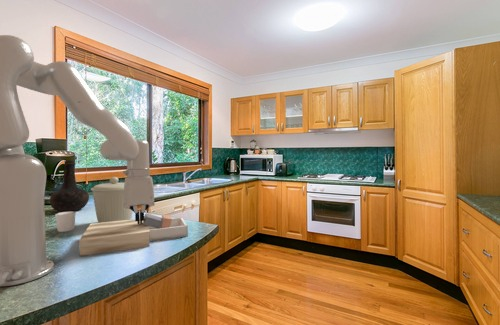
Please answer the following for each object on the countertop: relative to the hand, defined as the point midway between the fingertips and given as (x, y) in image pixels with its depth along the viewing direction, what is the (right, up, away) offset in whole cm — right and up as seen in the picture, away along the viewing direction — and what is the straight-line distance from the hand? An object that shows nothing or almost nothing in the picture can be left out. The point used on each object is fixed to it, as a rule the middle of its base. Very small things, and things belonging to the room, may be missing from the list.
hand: (139, 222), depth 94 cm
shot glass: (-36, -6, +11) cm, 38 cm away
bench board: (-6, -6, -3) cm, 9 cm away
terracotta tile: (+7, -1, +3) cm, 8 cm away
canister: (-20, -5, +21) cm, 29 cm away
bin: (+8, -6, +6) cm, 12 cm away
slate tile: (+3, -1, +2) cm, 4 cm away
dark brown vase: (-59, -5, +47) cm, 76 cm away
